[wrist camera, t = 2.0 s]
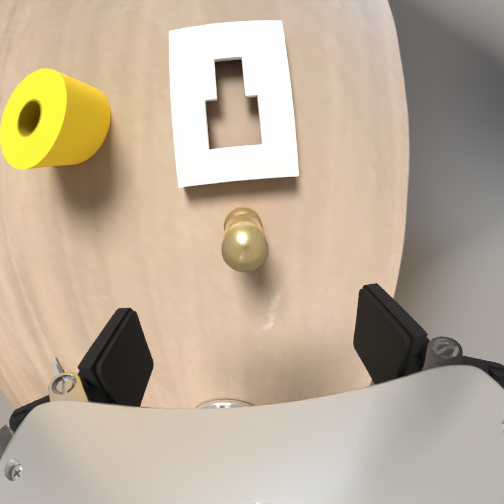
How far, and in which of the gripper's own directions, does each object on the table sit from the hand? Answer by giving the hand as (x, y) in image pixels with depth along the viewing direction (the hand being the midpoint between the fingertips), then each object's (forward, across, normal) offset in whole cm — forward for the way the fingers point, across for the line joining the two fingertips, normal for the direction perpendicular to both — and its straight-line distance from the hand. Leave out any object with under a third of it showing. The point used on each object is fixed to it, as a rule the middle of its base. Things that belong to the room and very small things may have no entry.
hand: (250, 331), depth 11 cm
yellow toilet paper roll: (+20, +19, -15) cm, 32 cm away
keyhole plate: (+20, 0, -14) cm, 24 cm away
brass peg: (+20, 0, 0) cm, 20 cm away
